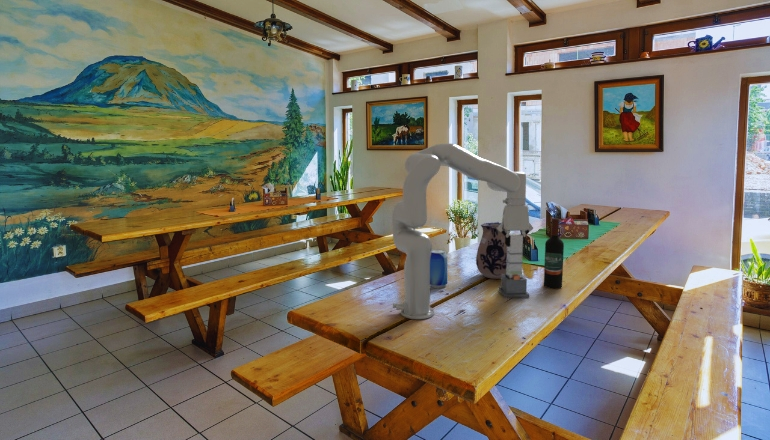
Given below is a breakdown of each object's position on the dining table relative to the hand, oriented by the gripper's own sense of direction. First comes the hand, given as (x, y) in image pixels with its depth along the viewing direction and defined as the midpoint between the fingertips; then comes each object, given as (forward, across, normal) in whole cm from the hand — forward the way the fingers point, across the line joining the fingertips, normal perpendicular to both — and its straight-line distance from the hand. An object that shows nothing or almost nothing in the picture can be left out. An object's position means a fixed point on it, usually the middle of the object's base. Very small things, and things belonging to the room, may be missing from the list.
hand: (514, 245), depth 190 cm
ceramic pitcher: (+21, -1, +27) cm, 34 cm away
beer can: (+21, -30, +14) cm, 39 cm away
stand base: (+21, 0, 0) cm, 21 cm away
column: (+13, 0, 0) cm, 13 cm away
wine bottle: (+21, +20, +9) cm, 30 cm away
